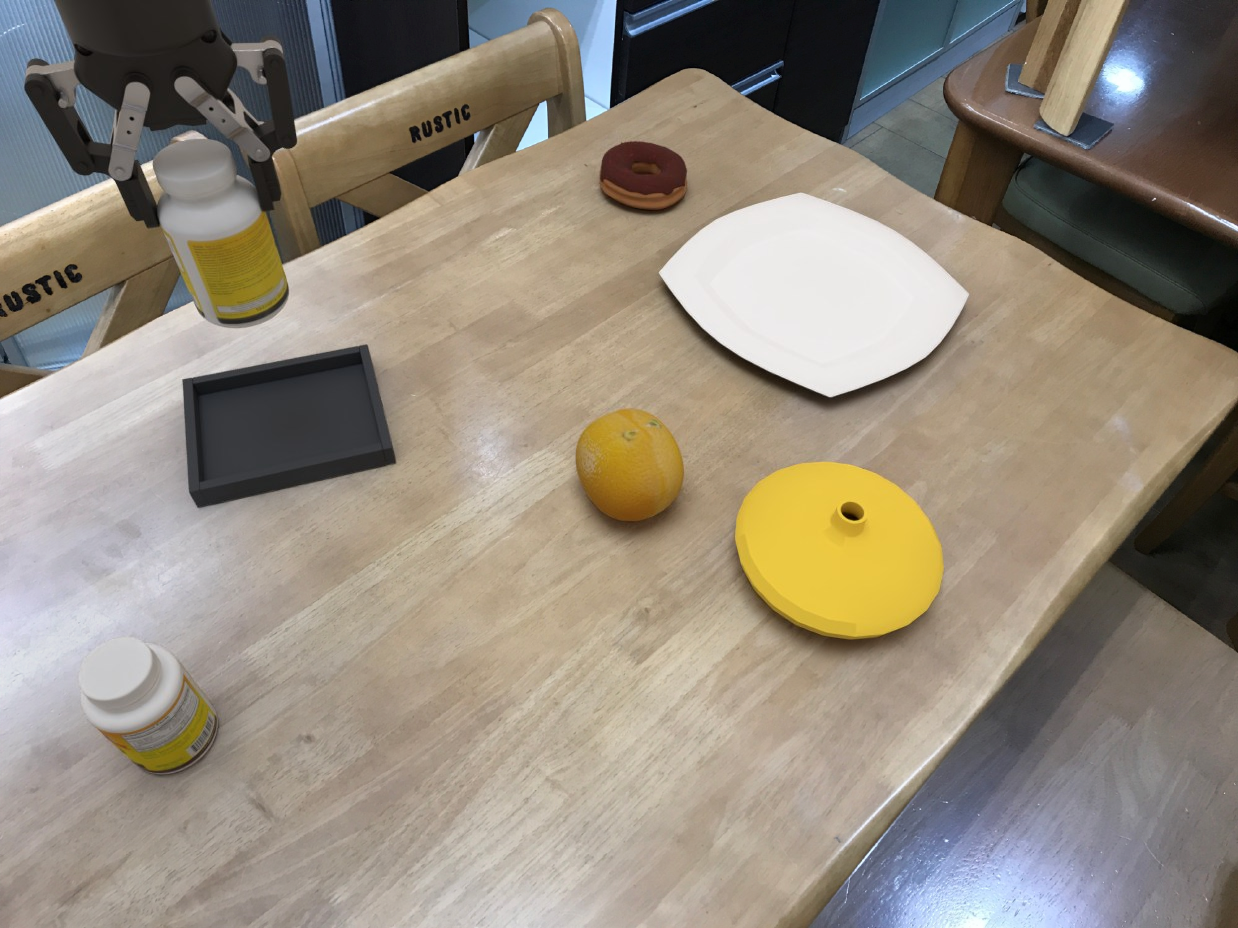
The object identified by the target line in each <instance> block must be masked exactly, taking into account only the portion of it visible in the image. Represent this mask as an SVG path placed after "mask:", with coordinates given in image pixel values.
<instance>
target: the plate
mask: <svg viewBox="0 0 1238 928" xmlns="http://www.w3.org/2000/svg"><path fill="white" fill-rule="evenodd" d="M658 275H659V276H660V278H661V279H662V281H663V282H664V283H665V285H666V286H667V288H668V290H669V291H670V292H671V293H672V296H674V297H675V299H676V300H677V301H678V302H679V304H680V305H681V306H682V308H683V309H684V310H685V312H687V314H688V315H689V316H690V317H691V318H692V319H693V320H694V321H695V322H696V324H697V325H698V326H699V327H700V328H701V329H702V330H703V331H704V332H705V333H706V334H707V335H709V336H710V337H711V338H712V339H713V340H715V342H717V343H718V344H720V346H722V347H724V348H726V349H727V350H728V351H730V352H732V353H733V354H735V355H736V356H738V357H739V358H741V359H742V360H744V361H746V362H748V363H750V364H752V365H754V366H755V367H758V368H760V369H761V370H764V371H766V372H768V373H769V374H772V375H774V376H776V377H778V378H781V379H783V380H785V381H787V382H790V383H792V384H795V385H796V386H799V387H802V388H804V389H806V390H808V391H810V392H813V393H816V394H817V395H821V396H823V397H825V398H827V399H831V398H834V397H838V396H841V395H845V394H847V393H850V392H853V391H857V390H859V389H861V388H864V387H867V386H871V385H873V384H875V383H877V382H881V381H883V380H885V379H888V378H890V377H893V376H894V375H896V374H898V373H901V372H903V371H905V370H907V369H908V368H910V367H912V366H914V365H915V364H917V363H919V362H920V361H922V360H923V359H925V358H927V357H928V356H929V355H930V354H931V353H932V351H934V350H935V349H936V348H937V347H938V346H939V345H940V344H941V343H942V341H943V340H944V338H945V337H946V336H947V335H948V334H949V332H950V331H951V329H952V328H953V326H954V324H955V323H956V321H957V319H958V318H959V316H960V314H961V312H962V310H963V308H964V307H965V304H966V302H967V300H968V298H969V296H970V293H969V292H968V291H967V290H966V289H965V288H964V287H963V286H962V285H961V284H960V283H959V282H958V281H957V280H956V279H955V278H954V277H953V276H952V275H951V274H949V272H947V271H946V270H945V269H944V267H942V266H941V265H940V264H939V263H938V262H937V261H935V259H933V257H931V255H929V254H928V253H926V252H925V251H924V250H922V248H920V247H919V246H918V245H916V243H914V242H913V241H911V240H910V239H908V238H906V236H904V235H902V234H901V233H899V232H897V231H896V230H895V229H892V228H890V227H889V226H887V225H885V224H883V223H881V222H879V221H877V220H876V219H873V218H871V217H869V216H866V215H864V214H861V213H859V212H857V211H855V210H852V209H849V208H846V207H844V206H841V205H839V204H836V203H833V202H830V201H828V200H826V199H823V198H819V197H817V196H814V195H810V194H807V193H804V192H796V193H793V194H789V195H785V196H780V197H776V198H773V199H769V200H766V201H765V200H764V201H762V202H758V203H755V204H752V205H749V206H745V207H743V208H740V209H737V210H734V211H732V212H730V213H727V214H725V215H723V216H720V217H718V218H716V219H714V220H713V221H711V222H710V223H708V224H707V225H706V226H704V227H703V228H701V229H700V230H698V232H697V233H696V234H694V235H693V236H692V237H690V238H689V239H688V240H687V241H686V242H685V243H683V245H682V246H681V247H680V248H679V249H678V250H677V252H675V254H673V255H672V256H671V257H670V258H669V260H668V261H667V262H666V264H664V266H663V267H662V268H661V269H660V270H659V272H658Z"/></svg>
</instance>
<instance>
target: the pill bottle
mask: <svg viewBox="0 0 1238 928" xmlns="http://www.w3.org/2000/svg"><path fill="white" fill-rule="evenodd" d="M152 169H153V171H154V174H155V177H156V180H157V183H158V185H159V186H160V188H161V190H162V193H161V195H160V197H159V199H158V202H157V203H156V204H157V217H158V220H159V223H160V227H161V230H162V232H163V235H164V237H165V240H166V242H167V245H169V249H170V251H171V253H172V255H173V258H174V260H175V262H176V265H177V267H178V269H179V272H180V274H181V277H182V279H183V281H184V283H185V286H186V288H187V290H188V292H189V295H190V297H191V299H192V302H193V304H194V306H195V308H196V310H197V312H198V314H199V315H200V316H201V317H202V318H203V319H204V320H205V321H207V322H208V323H210V324H212V325H214V326H217V327H221V328H227V329H244V328H245V329H246V328H251V327H254V326H258V325H261V324H263V323H265V322H267V321H270V320H271V319H273V318H274V317H276V316H277V315H278V314H280V312H281V311H282V310H283V309H284V307H285V306H286V304H287V303H288V300H289V296H290V287H289V286H290V285H289V283H288V279H287V275H286V272H285V269H284V266H283V263H282V259H281V257H280V254H279V250H278V247H277V243H276V241H275V240H276V239H275V237H274V234H273V231H272V228H271V225H270V221H269V218H268V215H267V211H265V212H264V211H263V209H262V205H261V202H260V199H259V196H258V193H257V189H256V186H255V184H254V185H253V183H252V182H251V181H249V180H248V179H247V178H245V177H243V176H241V175H239V174H238V168H237V164H236V161H235V158H234V156H233V153H232V151H231V150H230V148H229V147H228V145H226V144H224V143H222V142H221V141H218V140H215V139H210V138H191V139H190V138H189V139H184V140H179V141H177V142H174V143H171V144H169V145H167V146H165V147H164V148H162V149H161V150H159V152H157V153H156V154H155V156H154V157H153V159H152Z"/></svg>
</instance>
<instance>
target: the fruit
mask: <svg viewBox="0 0 1238 928" xmlns="http://www.w3.org/2000/svg"><path fill="white" fill-rule="evenodd" d="M575 468H576V472H577V475H578V479H579V482H580V484H581V486H582V488H583V490H584V492H585V494H586V495H587V496H588V498H589V499H590V500H591V502H592V503H593V504H594V506H596V508H598V510H600V511H601V512H602V513H603V514H605V515H606V516H608V517H610V518H612V519H614V520H618V521H622V522H639V521H644V520H647V519H650V518H652V517H654V516H656V515H658V514H660V513H662V512H663V511H664V510H665V509H667V508H668V507H669V506H670V505H671V504H672V503H673V502H674V501H675V500H676V498H677V497H678V495H679V494H680V492H681V489H682V487H683V483H684V478H685V465H684V460H683V456H682V453H681V449H680V447H679V444H678V442H677V440H676V438H675V437H674V435H673V433H672V432H671V430H669V428H668V427H667V426H666V425H665V424H664V423H663V422H662V421H661V420H660V418H658V417H657V416H655V415H654V414H652V413H650V412H648V411H645V410H643V409H638V408H622V409H617V410H615V411H612V412H609V413H607V414H604V415H602V416H600V417H598V418H596V419H595V420H593V421H592V422H590V423H589V425H587V426H586V427H585V428H584V429H583V431H582V432H581V433H580V435H579V437H578V440H577V443H576V448H575Z"/></svg>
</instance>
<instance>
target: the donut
mask: <svg viewBox="0 0 1238 928" xmlns="http://www.w3.org/2000/svg"><path fill="white" fill-rule="evenodd" d="M598 174H599V175H598V178H599V185H600V186H599V187H600V188H601V190H602V191H603V193H605V195H607V196H608V197H610V198H611V199H613V200H615V201H616V202H618V203H621V204H623V205H626V206H628V207H631V208H636V209H640V210H648V211H658V210H662V209H666V208H669V207H671V206H672V205H674V204H676V203H678V202H679V201H680V200H681V199H682V198H683V197H684V195H685V194H686V192H687V187H688V181H687V180H688V179H687V176H688V168H687V166H686V162H685V160H684V159H683V157H682V156H681V155H680V154H679V153H677V152H675V151H674V150H672V149H670V148H668V147H667V146H663V145H659V144H656V143H653V142H648V141H640V140H639V141H638V140H634V141H632V140H631V141H624V142H623V141H621V142H620V143H619V144H616V145H614V146H613V147H611V148H609V149H608V150H607V151H606V152H604V154H603V156H602V159H601V164H600V170H599V173H598Z"/></svg>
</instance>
